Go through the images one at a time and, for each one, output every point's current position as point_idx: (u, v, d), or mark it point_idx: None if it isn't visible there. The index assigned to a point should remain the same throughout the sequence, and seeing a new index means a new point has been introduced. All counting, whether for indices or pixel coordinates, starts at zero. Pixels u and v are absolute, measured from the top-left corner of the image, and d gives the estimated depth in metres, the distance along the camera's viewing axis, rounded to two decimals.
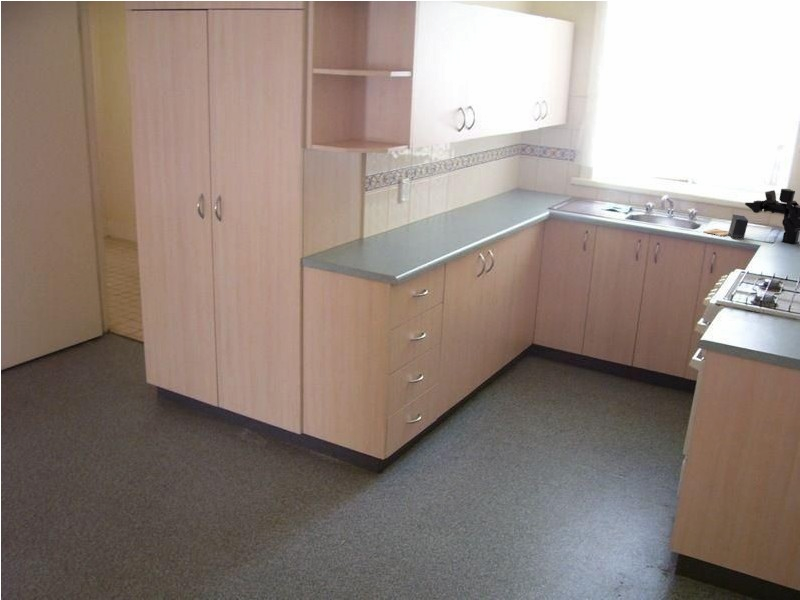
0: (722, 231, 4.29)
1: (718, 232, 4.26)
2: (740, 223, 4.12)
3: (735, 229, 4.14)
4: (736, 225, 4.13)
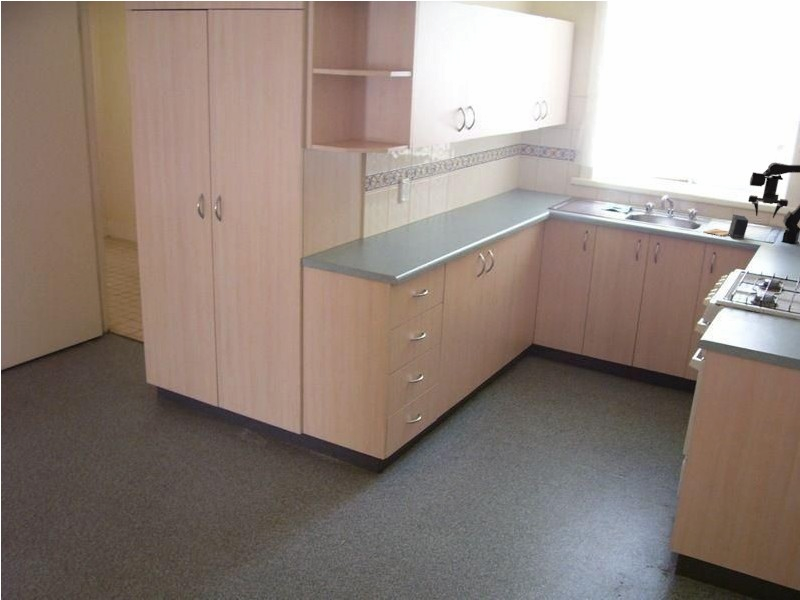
0: (722, 231, 4.29)
1: (718, 232, 4.26)
2: (740, 223, 4.12)
3: (735, 229, 4.14)
4: (736, 225, 4.13)
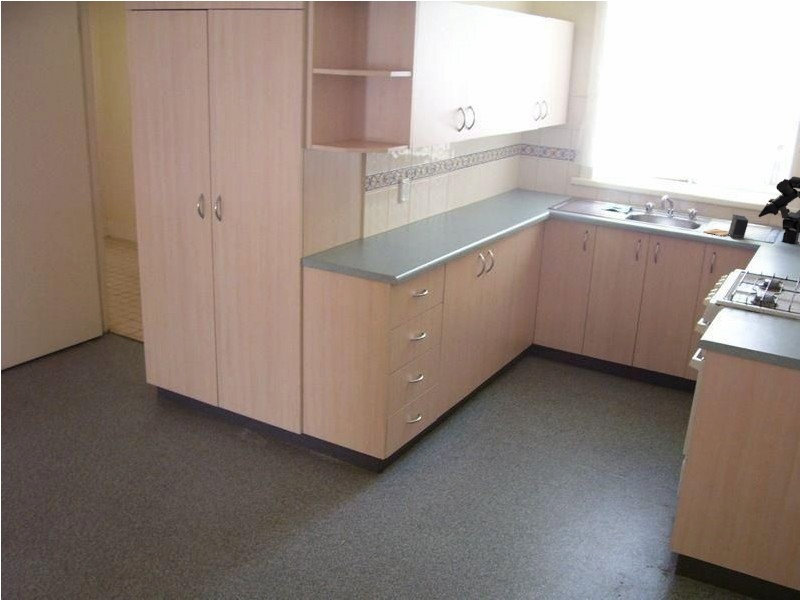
0: (722, 231, 4.29)
1: (718, 232, 4.26)
2: (740, 223, 4.12)
3: (735, 229, 4.14)
4: (736, 225, 4.13)
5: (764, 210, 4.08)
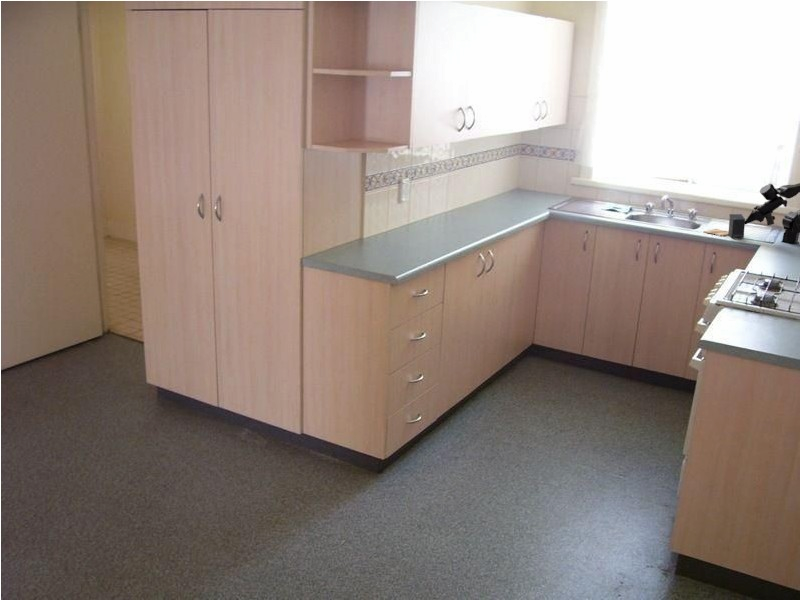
0: (722, 231, 4.29)
1: (718, 232, 4.26)
2: (737, 223, 4.12)
3: (733, 229, 4.14)
4: (734, 225, 4.13)
5: (750, 217, 4.11)
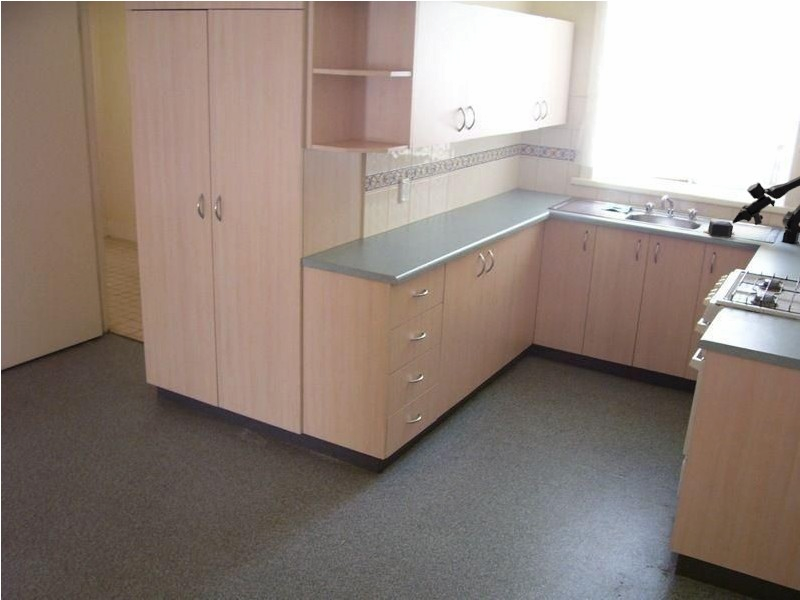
0: None
1: None
2: (715, 231, 4.16)
3: (722, 235, 4.16)
4: (717, 234, 4.17)
5: (738, 216, 4.14)
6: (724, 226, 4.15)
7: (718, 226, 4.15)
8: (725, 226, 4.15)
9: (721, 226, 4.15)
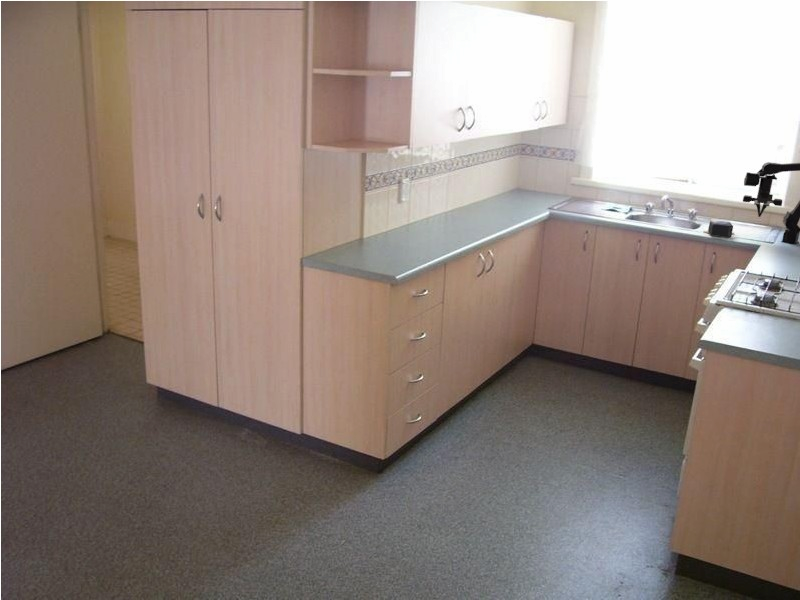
0: None
1: None
2: (715, 231, 4.16)
3: (722, 235, 4.16)
4: (717, 234, 4.17)
5: None
6: (724, 226, 4.15)
7: (718, 226, 4.15)
8: (725, 226, 4.15)
9: (721, 226, 4.15)
